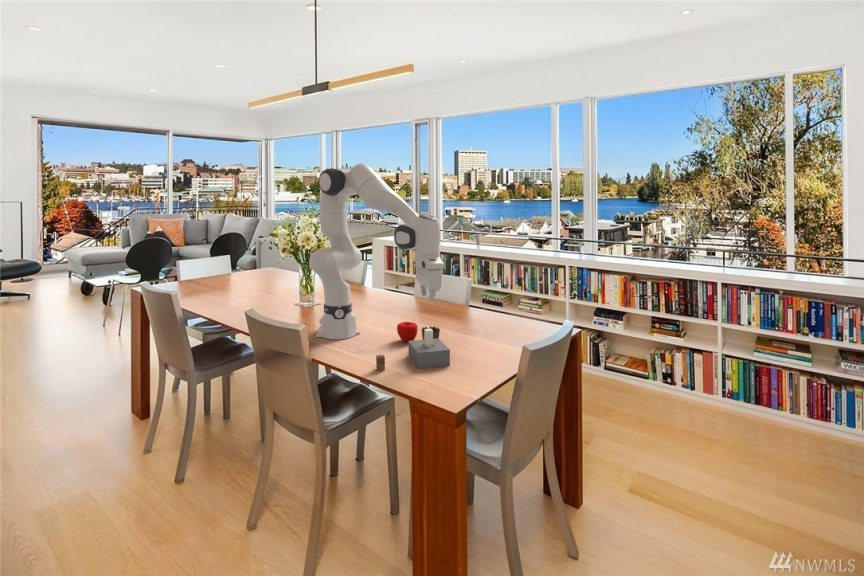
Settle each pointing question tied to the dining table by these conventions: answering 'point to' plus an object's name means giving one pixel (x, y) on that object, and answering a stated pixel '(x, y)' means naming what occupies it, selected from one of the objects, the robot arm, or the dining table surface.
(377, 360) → the short pin
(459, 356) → the dining table surface
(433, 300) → the robot arm
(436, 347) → the hole block
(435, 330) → the small green plant
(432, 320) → the dining table surface
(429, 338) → the tall pin
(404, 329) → the apple
